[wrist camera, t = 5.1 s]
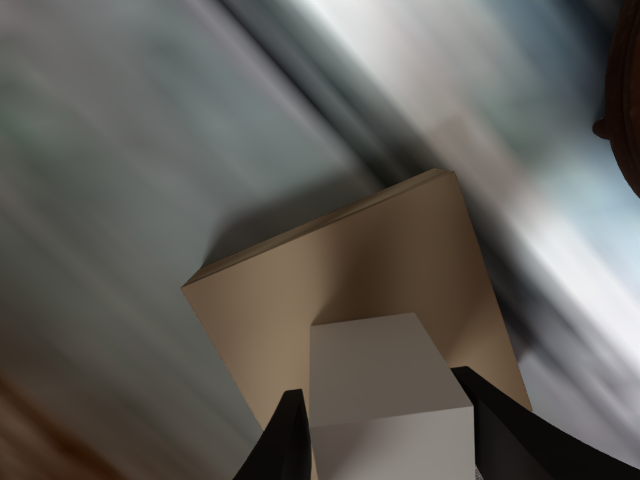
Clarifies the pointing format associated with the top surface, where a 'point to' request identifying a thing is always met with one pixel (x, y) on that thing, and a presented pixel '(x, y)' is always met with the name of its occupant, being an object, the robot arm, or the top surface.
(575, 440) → the robot arm
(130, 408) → the top surface
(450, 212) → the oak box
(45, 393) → the top surface
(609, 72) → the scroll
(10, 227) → the top surface
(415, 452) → the ceramic block
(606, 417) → the top surface
